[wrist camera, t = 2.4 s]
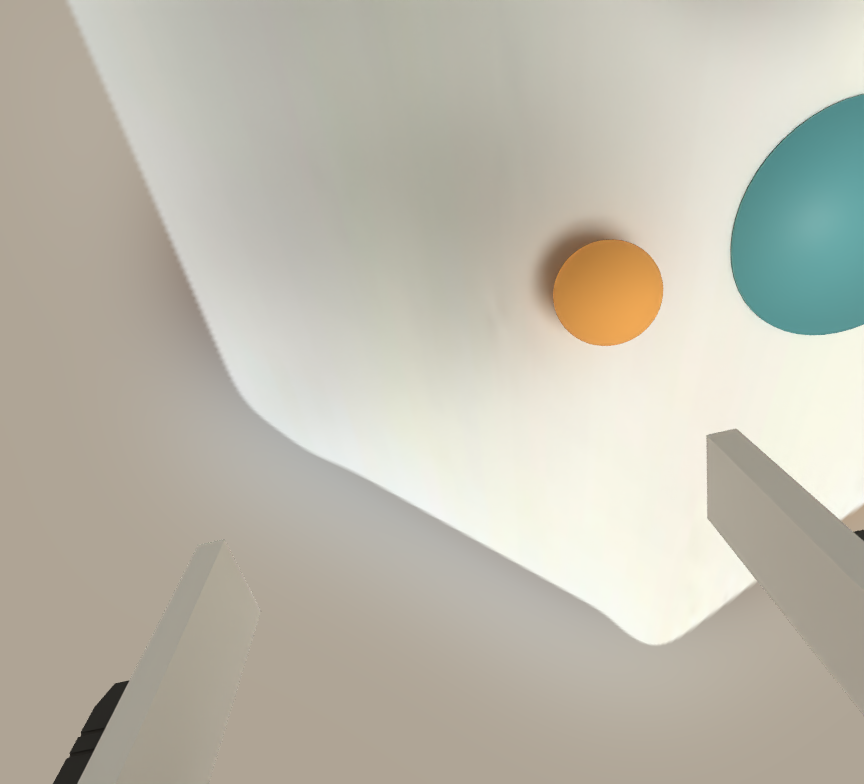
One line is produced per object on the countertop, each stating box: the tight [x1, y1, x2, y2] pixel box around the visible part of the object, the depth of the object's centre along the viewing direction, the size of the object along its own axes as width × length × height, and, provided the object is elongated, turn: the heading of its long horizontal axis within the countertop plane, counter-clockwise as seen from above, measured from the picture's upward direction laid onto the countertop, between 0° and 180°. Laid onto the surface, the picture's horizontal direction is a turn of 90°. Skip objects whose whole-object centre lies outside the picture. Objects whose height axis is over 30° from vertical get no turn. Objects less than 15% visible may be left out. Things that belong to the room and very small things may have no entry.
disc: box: [731, 94, 864, 335], centre depth 30 cm, size 13×13×1 cm
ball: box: [553, 239, 663, 346], centre depth 29 cm, size 6×6×6 cm
